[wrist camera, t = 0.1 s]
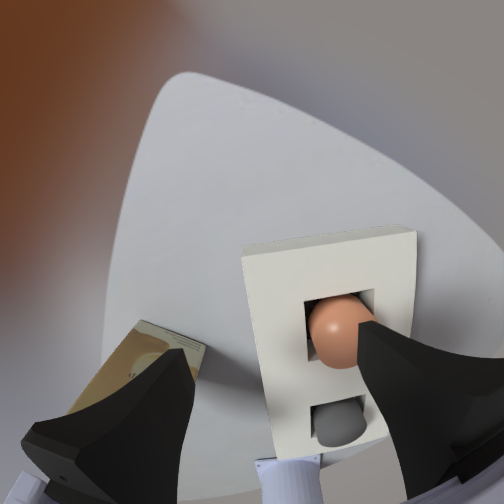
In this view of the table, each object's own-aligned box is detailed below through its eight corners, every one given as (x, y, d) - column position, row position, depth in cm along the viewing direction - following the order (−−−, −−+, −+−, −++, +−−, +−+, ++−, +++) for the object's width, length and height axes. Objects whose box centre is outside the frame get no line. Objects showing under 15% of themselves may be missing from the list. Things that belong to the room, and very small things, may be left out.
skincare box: (207, 343, 21) (176, 468, 9) (195, 379, 22) (166, 493, 10) (136, 316, 21) (59, 416, 9) (130, 354, 22) (69, 452, 10)
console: (378, 418, 24) (387, 435, 21) (275, 439, 25) (277, 460, 22) (396, 224, 19) (416, 230, 16) (242, 246, 19) (240, 257, 16)
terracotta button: (363, 339, 19) (378, 360, 16) (309, 350, 19) (317, 374, 16) (365, 287, 18) (382, 304, 15) (305, 298, 18) (314, 318, 15)
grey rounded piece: (355, 418, 21) (363, 440, 19) (312, 428, 22) (317, 451, 19) (359, 389, 20) (370, 411, 17) (311, 400, 21) (317, 424, 18)
